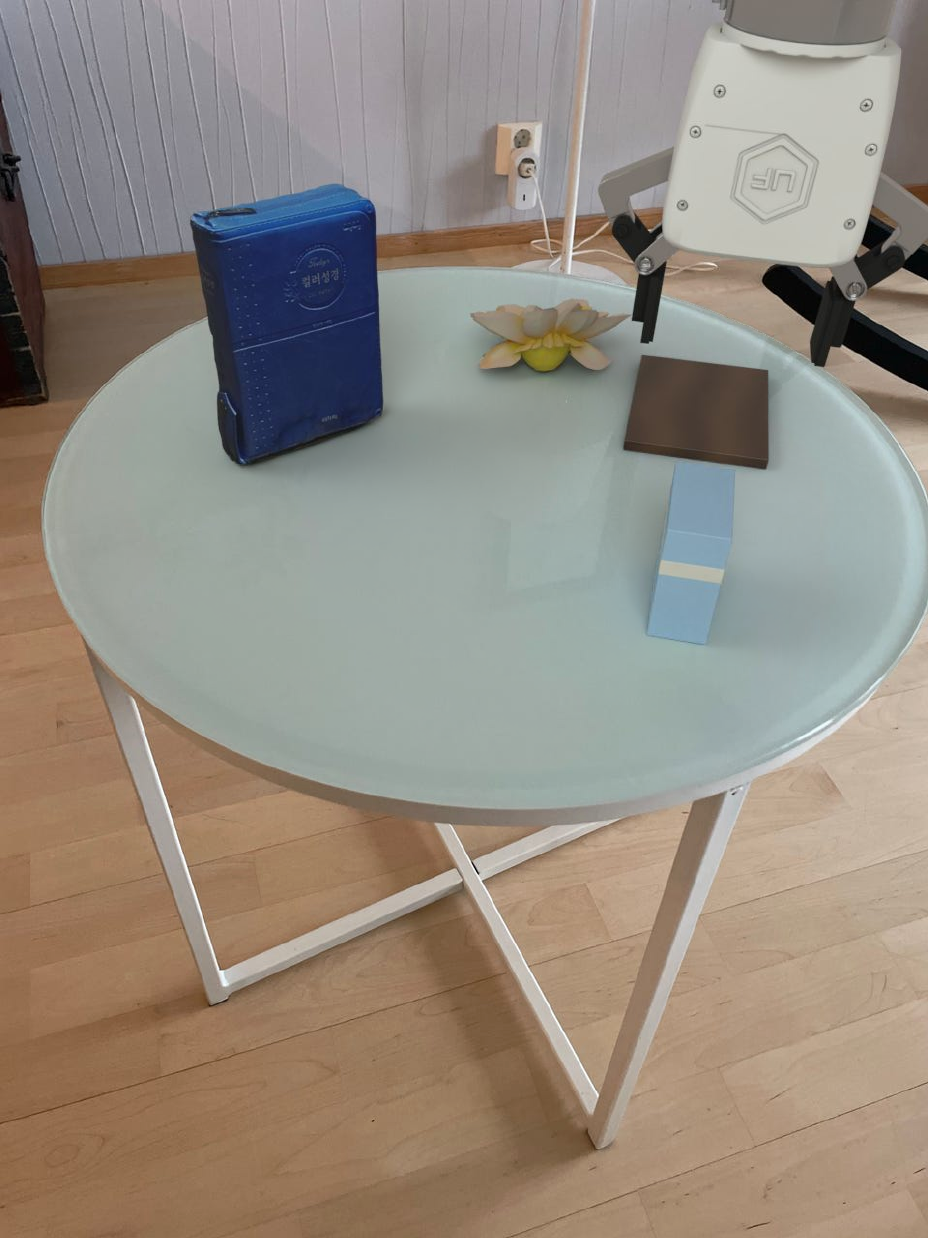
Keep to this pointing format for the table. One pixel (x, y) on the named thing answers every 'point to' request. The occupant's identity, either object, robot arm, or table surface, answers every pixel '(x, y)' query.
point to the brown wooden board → (700, 412)
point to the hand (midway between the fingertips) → (731, 344)
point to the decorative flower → (546, 334)
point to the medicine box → (692, 552)
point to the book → (292, 318)
